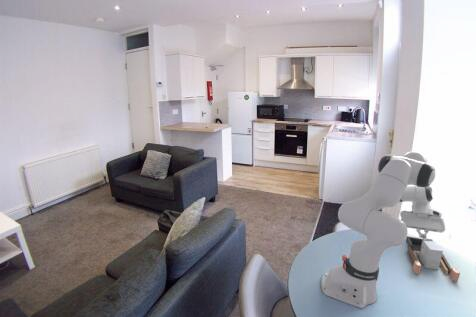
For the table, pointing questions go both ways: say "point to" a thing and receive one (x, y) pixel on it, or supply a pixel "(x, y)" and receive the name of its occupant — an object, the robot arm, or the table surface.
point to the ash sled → (444, 268)
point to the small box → (430, 254)
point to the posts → (453, 275)
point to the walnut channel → (441, 258)
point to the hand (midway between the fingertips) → (422, 237)
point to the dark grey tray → (414, 243)
